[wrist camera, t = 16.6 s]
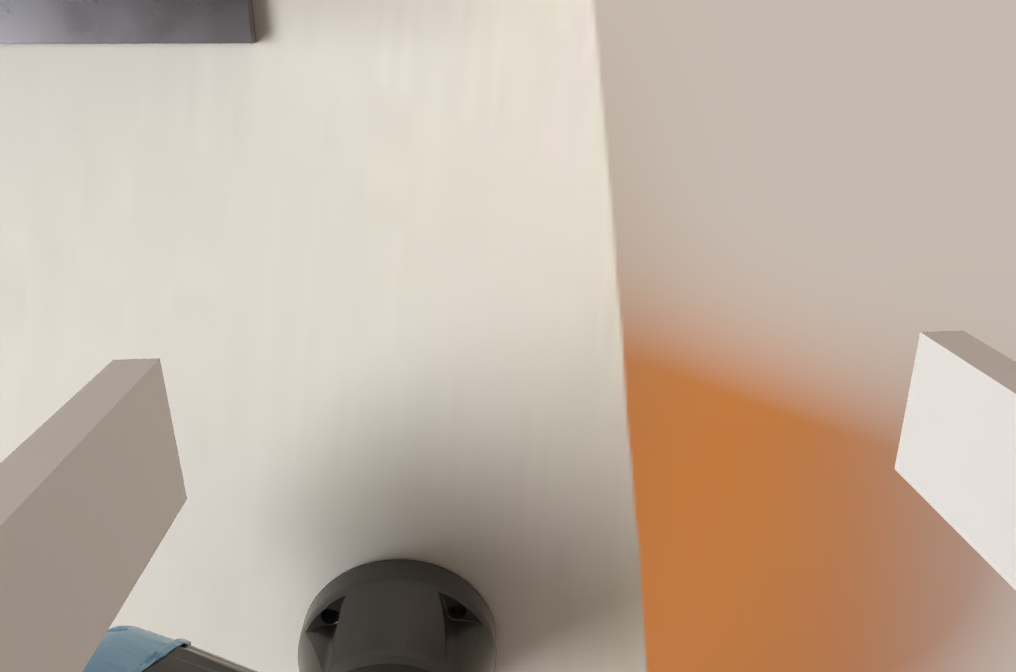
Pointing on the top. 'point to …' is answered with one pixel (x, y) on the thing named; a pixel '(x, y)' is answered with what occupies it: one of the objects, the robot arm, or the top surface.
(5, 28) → the collar stand
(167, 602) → the top surface
